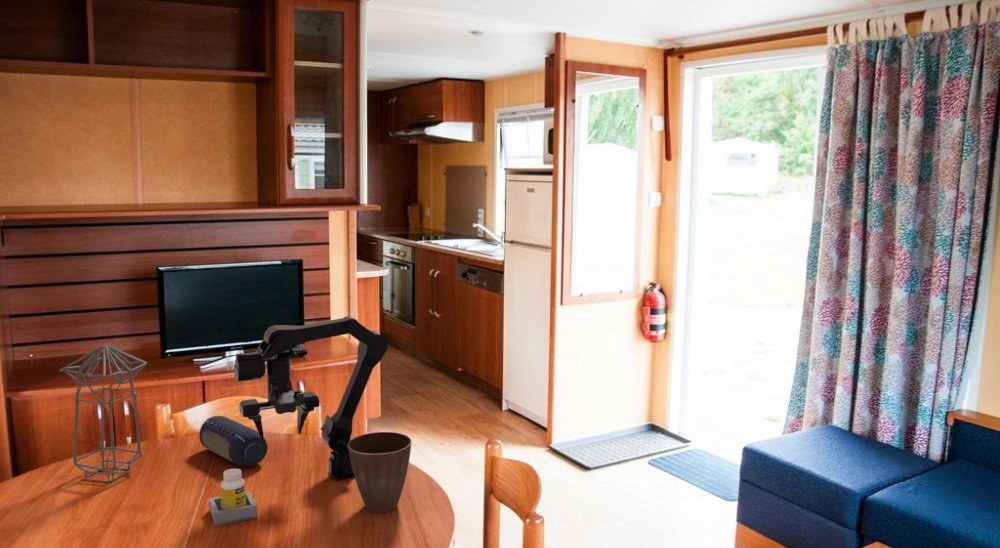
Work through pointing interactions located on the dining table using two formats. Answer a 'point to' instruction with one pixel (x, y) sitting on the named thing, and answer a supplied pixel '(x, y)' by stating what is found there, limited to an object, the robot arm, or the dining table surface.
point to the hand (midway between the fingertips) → (280, 436)
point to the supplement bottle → (232, 490)
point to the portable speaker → (233, 441)
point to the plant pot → (380, 468)
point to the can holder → (232, 511)
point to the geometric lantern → (95, 357)
